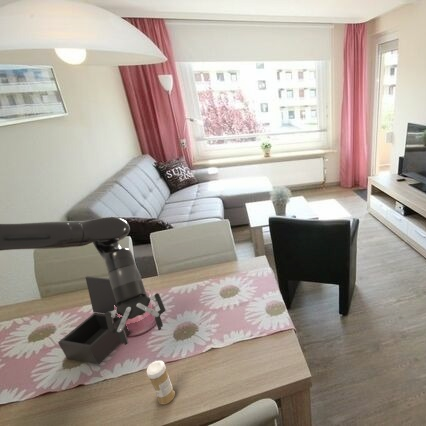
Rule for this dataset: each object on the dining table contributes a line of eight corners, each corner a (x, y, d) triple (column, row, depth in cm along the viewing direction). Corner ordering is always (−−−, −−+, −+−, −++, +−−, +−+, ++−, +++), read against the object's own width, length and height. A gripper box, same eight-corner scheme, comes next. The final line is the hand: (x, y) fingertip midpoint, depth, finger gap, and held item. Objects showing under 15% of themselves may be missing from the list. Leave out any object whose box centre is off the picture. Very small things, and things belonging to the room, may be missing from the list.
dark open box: (98, 364, 99) (89, 347, 95) (67, 358, 101) (57, 342, 98) (130, 332, 111) (123, 316, 108) (101, 328, 114) (94, 312, 110)
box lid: (115, 280, 104) (117, 279, 104) (85, 277, 106) (87, 276, 107) (122, 316, 107) (124, 314, 108) (93, 312, 110) (95, 310, 111)
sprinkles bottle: (156, 399, 87) (143, 368, 82) (170, 387, 90) (159, 357, 85) (163, 408, 85) (150, 377, 79) (178, 396, 88) (167, 365, 82)
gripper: (94, 292, 79) (112, 351, 77) (153, 273, 86) (170, 325, 85) (100, 294, 86) (117, 347, 84) (154, 275, 93) (170, 324, 91)
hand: (143, 336), depth 84 cm, fingers open, 8 cm apart
